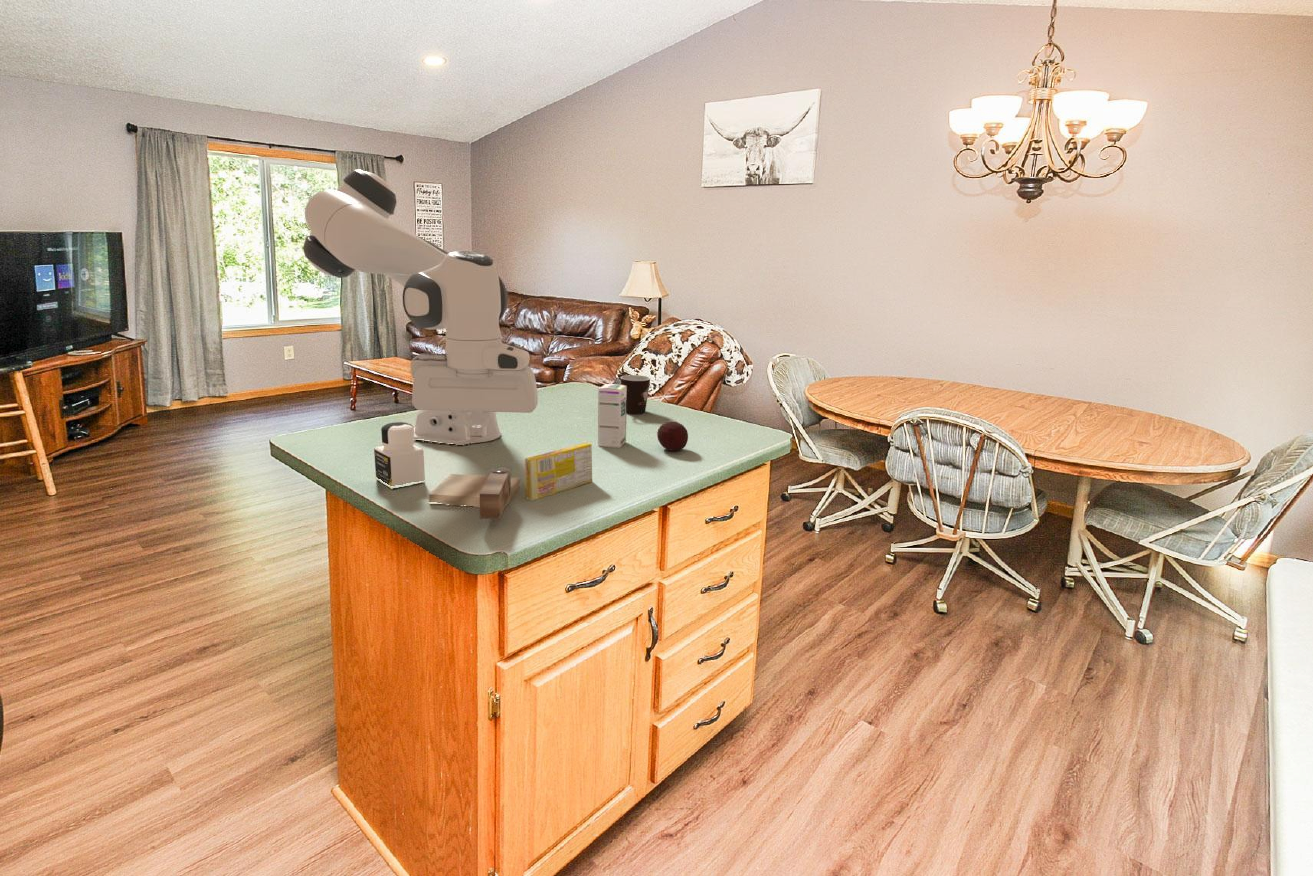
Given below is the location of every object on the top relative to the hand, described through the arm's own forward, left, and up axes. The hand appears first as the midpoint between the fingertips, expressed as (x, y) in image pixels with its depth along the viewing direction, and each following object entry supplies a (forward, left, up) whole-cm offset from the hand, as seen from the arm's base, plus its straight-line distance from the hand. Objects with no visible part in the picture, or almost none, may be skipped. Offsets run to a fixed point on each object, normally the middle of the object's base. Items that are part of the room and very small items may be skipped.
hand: (477, 436), depth 123 cm
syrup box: (+16, +55, -16) cm, 60 cm away
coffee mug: (+17, +89, -16) cm, 92 cm away
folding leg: (+2, +5, -14) cm, 15 cm away
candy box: (+10, +20, -16) cm, 28 cm away
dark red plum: (+31, +53, -16) cm, 64 cm away
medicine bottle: (-22, +19, -16) cm, 33 cm away
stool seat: (-5, +14, -16) cm, 22 cm away
